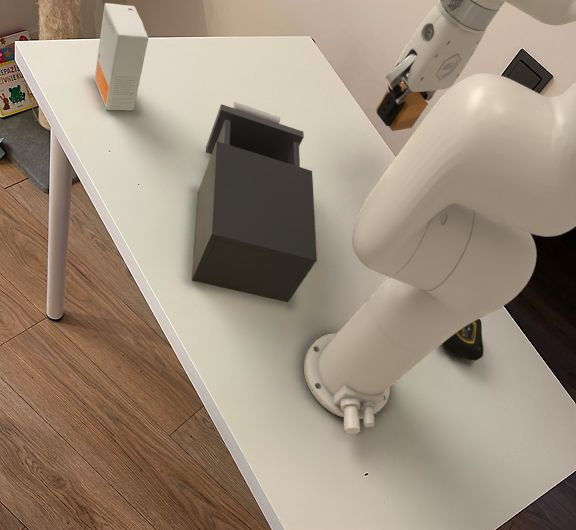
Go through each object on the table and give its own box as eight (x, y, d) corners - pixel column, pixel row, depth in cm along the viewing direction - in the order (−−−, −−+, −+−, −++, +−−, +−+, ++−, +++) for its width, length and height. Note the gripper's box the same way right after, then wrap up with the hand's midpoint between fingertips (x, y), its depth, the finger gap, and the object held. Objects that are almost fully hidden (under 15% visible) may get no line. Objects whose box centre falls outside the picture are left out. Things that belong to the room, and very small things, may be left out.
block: (411, 128, 94) (428, 103, 90) (392, 131, 91) (408, 106, 87) (395, 106, 95) (411, 82, 91) (375, 109, 92) (391, 83, 88)
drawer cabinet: (197, 192, 85) (216, 140, 77) (285, 217, 89) (312, 170, 82) (191, 280, 77) (211, 233, 70) (287, 302, 82) (317, 260, 74)
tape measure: (472, 367, 91) (488, 355, 88) (434, 353, 89) (449, 340, 86) (470, 331, 94) (486, 318, 91) (434, 316, 92) (448, 303, 89)
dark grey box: (207, 124, 90) (222, 80, 84) (282, 148, 95) (302, 108, 88) (201, 221, 81) (217, 180, 75) (285, 243, 86) (307, 206, 79)
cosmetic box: (92, 80, 86) (103, 1, 77) (121, 81, 89) (135, 4, 79) (105, 111, 85) (118, 34, 75) (134, 112, 87) (150, 37, 77)
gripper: (444, 24, 72) (370, 141, 87) (520, 24, 82) (441, 129, 97) (409, -17, 74) (342, 104, 89) (487, -14, 83) (415, 96, 98)
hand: (395, 116), depth 92 cm, fingers closed on block, 4 cm apart
